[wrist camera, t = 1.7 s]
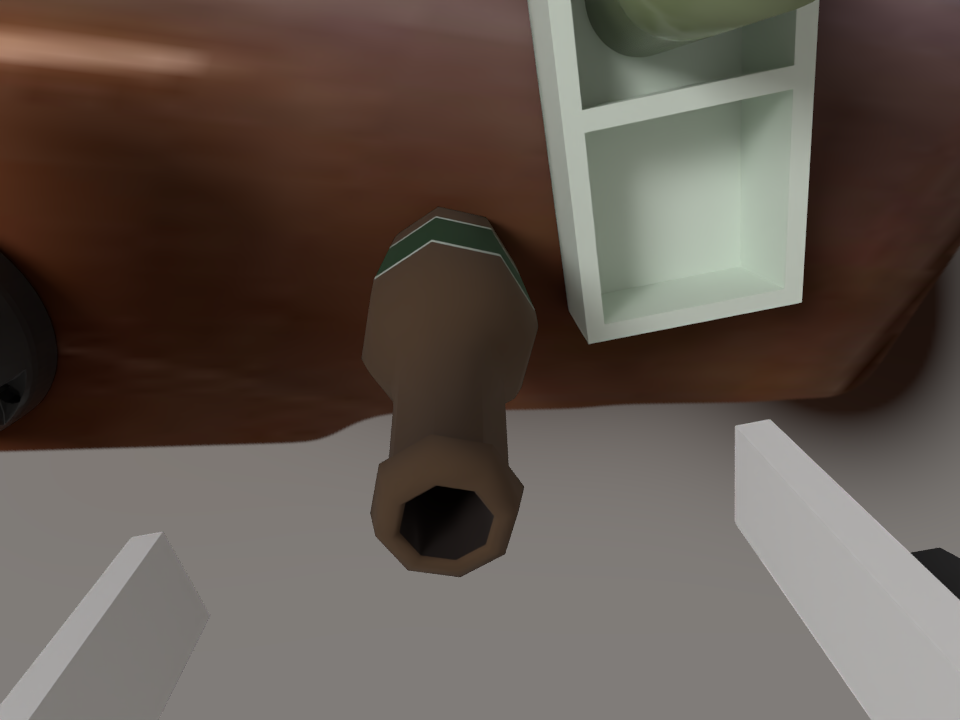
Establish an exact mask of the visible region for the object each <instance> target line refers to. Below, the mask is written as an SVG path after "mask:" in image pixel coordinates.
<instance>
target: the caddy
mask: <svg viewBox="0 0 960 720" xmlns="http://www.w3.org/2000/svg"><path fill="white" fill-rule="evenodd" d="M527 1H528V8H529V16H530V24H531V31H532V39H533V46H534V54H535V61H536V69H537V76H538V84H539V92H540V99H541V107H542V114H543V122H544V129H545V137H546V144H547V152H548V160H549V167H550V175H551V182H552V190H553V197H554V205H555V212H556V220H557V228H558V235H559V243H560V250H561V258H562V265H563V273H564V280H565V288H566V296H567V303H568V311H569V312H570V314H571V316H572V317H573V319H574V321H575V322H576V324H577V326H578V327H579V329H580V331H581V332H582V334H583V336H584V337H585V339H586V341H587V342H588V344H592V343H597V342H602V341H607V340H612V339H618V338H623V337H628V336H633V335H638V334H643V333H648V332H653V331H659V330H664V329H669V328H674V327H679V326H684V325H689V324H694V323H699V322H705V321H710V320H715V319H720V318H725V317H730V316H735V315H740V314H745V313H751V312H756V311H761V310H766V309H771V308H776V307H781V306H786V305H791V304H797V303H802V291H803V274H804V257H805V239H806V222H807V205H808V187H809V170H810V153H811V136H812V118H813V101H814V84H815V67H816V49H817V32H818V15H819V0H815V1H814V2H812V3H810V4H807V5H805V6H803V7H801V8H798V9H795V10H792V11H789V12H786V13H783V14H780V15H777V16H774V17H771V18H767V19H764V20H761V21H758V22H755V23H752V24H749V25H746V26H743V27H740V28H736V29H733V30H730V31H727V32H724V33H721V34H718V35H715V36H712V37H709V38H706V39H702V40H699V41H696V42H693V43H690V44H687V45H684V46H681V47H678V48H675V49H671V50H668V51H665V52H662V53H659V54H656V55H652V56H648V57H630V56H625V55H622V54H619V53H617V52H615V51H613V50H612V49H611V48H609V47H608V46H606V45H605V44H604V43H603V42H602V41H601V40H600V38H599V37H598V36H597V34H596V33H595V31H594V29H593V28H592V26H591V23H590V21H589V19H588V15H587V11H586V7H585V0H527Z"/></svg>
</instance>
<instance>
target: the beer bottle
mask: <svg viewBox="0 0 960 720" xmlns="http://www.w3.org/2000/svg"><path fill="white" fill-rule="evenodd" d="M537 330H538V322H537V317H536V312H535V309H534V307H533V305H532V302H531V300H530V298H529V295H528V293H527V291H526V288H525V286H524V284H523V281H522V279H521V277H520V274H519V272H518V270H517V267H516V265H515V263H514V261H513V260H512V258H511V257H510V255H509V253H508V252H507V250H506V248H505V247H504V245H503V244H502V242H501V240H500V239H499V237H498V236H497V234H496V232H495V231H494V229H493V227H492V226H491V224H490V223H489V221H488V220H487V218H486V217H483V216H478V215H474V214H469V213H465V212H460V211H456V210H451V209H447V208H442V207H437V208H436V209H434V210H433V211H431V212H430V213H428V214H427V215H425V216H424V217H422V218H421V219H419V220H418V221H416V222H415V223H413V224H412V225H410V226H409V227H407V228H406V229H404V230H403V231H401V232H400V233H399V234H398V235H397V236H396V237H395V238H394V240H393V242H392V244H391V246H390V248H389V250H388V252H387V254H386V256H385V258H384V260H383V262H382V264H381V266H380V269H379V271H378V273H377V275H376V277H375V279H374V282H373V287H372V292H371V297H370V304H369V311H368V318H367V324H366V331H365V338H364V345H363V351H362V358H361V359H362V360H363V362H364V364H365V366H366V368H367V369H368V371H369V373H370V374H371V375H372V377H373V378H374V379H375V380H376V381H377V383H378V384H379V385H380V386H381V388H382V389H383V390H384V391H385V393H386V394H387V395H388V396H389V397H390V399H391V400H392V401H393V417H392V429H391V441H390V454H389V459H387V460H385V461H384V462H382V463H380V464H379V467H378V473H377V479H376V484H375V490H374V495H373V501H372V507H371V512H370V514H371V518H372V523H373V526H374V531H375V536H376V537H377V538H378V539H379V540H380V541H381V542H382V543H383V544H384V546H385V547H386V548H387V549H388V550H389V551H390V552H391V553H392V554H393V555H394V556H395V557H396V558H397V559H398V560H399V561H400V562H401V563H402V565H403V566H404V567H405V568H406V569H407V570H409V571H417V572H425V573H432V574H440V575H448V576H455V577H461V576H463V575H465V574H467V573H469V572H471V571H473V570H475V569H477V568H479V567H481V566H483V565H485V564H487V563H489V562H491V561H493V560H494V559H496V558H498V557H500V556H502V555H504V554H505V553H506V549H507V546H508V543H509V540H510V537H511V533H512V530H513V527H514V524H515V520H516V517H517V514H518V511H519V507H520V502H521V498H522V494H523V490H524V486H523V485H522V483H521V482H520V480H519V479H518V478H517V477H516V475H515V474H514V473H513V471H512V470H511V468H510V467H509V465H508V447H507V430H506V411H505V403H507V402H509V401H511V400H512V399H514V398H515V397H516V395H517V394H518V392H519V390H520V389H521V386H522V383H523V379H524V376H525V372H526V369H527V365H528V362H529V358H530V355H531V351H532V348H533V344H534V340H535V337H536V333H537Z"/></svg>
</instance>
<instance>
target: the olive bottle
mask: <svg viewBox="0 0 960 720" xmlns="http://www.w3.org/2000/svg"><path fill="white" fill-rule="evenodd" d="M814 1H815V0H585V7H586V11H587V15H588V19H589V21H590V23H591V26H592V28H593V29H594V31H595V33H596V34H597V36H598V37H599V38H600V40H601V41H602V42H603V43H604V44H605V45H606V46H608V47H609V48H611V49H612V50H613V51H615V52H617V53H619V54H622V55H625V56H630V57H648V56H652V55H656V54H659V53H662V52H665V51H668V50H671V49H675V48H678V47H681V46H684V45H687V44H690V43H693V42H696V41H699V40H702V39H706V38H709V37H712V36H715V35H718V34H721V33H724V32H727V31H730V30H733V29H736V28H740V27H743V26H746V25H749V24H752V23H755V22H758V21H761V20H764V19H767V18H771V17H774V16H777V15H780V14H783V13H786V12H789V11H792V10H795V9H798V8H801V7H803V6H805V5H807V4H810V3H812V2H814Z"/></svg>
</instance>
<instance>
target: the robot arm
mask: <svg viewBox="0 0 960 720" xmlns="http://www.w3.org/2000/svg"><path fill="white" fill-rule="evenodd" d="M56 367H57V345H56V339H55V334H54V330H53V327H52V324H51V321H50V318H49V316H48V314H47V311H46V309H45V307H44V305H43V303H42V301H41V300H40V298H39V296H38V295H37V293H36V292H35V290H34V289H33V287H32V286H31V285H30V283H29V282H28V281H27V279H26V278H25V277H24V276H23V275H22V273H21V272H20V271H19V270H18V269H17V268H16V267H15V266H14V265H13V264H12V263H11V262H10V261H9V260H8V259H7V258H6V257H5V256H4V255H3V254H2V253H1V252H0V431H1V430H3V429H5V428H6V427H8V426H9V425H11V424H12V423H14V422H15V421H17V420H18V419H20V418H21V417H23V416H24V415H26V414H27V413H28V412H30V411H31V410H32V409H34V408H35V407H36V406H37V405H38V404H39V403H40V402H41V401H42V399H43V398H44V397H45V395H46V394H47V392H48V391H49V389H50V387H51V384H52V382H53V379H54V376H55V372H56ZM735 524H736V525H737V527H738V528H739V529H740V531H741V532H742V534H743V535H744V537H745V538H746V540H747V541H748V542H749V544H750V545H751V547H752V548H753V550H754V551H755V552H756V554H757V555H758V557H759V558H760V560H761V561H762V563H763V564H764V566H765V567H766V568H767V570H768V571H769V573H770V574H771V576H772V577H773V579H774V580H775V581H776V583H777V584H778V586H779V587H780V589H781V590H782V592H783V593H784V594H785V596H786V597H787V599H788V600H789V602H790V603H791V605H792V606H793V607H794V609H795V610H796V612H797V613H798V615H799V616H800V618H801V619H802V621H803V622H804V623H805V625H806V626H807V628H808V629H809V631H810V632H811V633H812V635H813V636H814V638H815V639H816V641H817V642H818V644H819V645H820V647H821V648H822V649H823V651H824V652H825V654H826V655H827V657H828V658H829V660H830V661H831V662H832V664H833V665H834V667H835V668H836V670H837V671H838V673H839V674H840V675H841V677H842V678H843V680H844V681H845V683H846V684H847V686H848V687H849V689H850V690H851V691H852V693H853V694H854V696H855V697H856V699H857V700H858V702H859V703H860V704H861V706H862V707H863V709H864V710H865V712H866V713H867V714H868V716H869V717H870V719H871V720H960V558H958V557H956V556H955V555H953V554H951V553H949V552H947V551H945V550H943V549H941V548H935V549H929V550H923V551H918V552H912V553H910V552H909V551H908V550H907V549H906V548H904V547H903V546H902V545H901V544H900V543H899V542H898V541H897V540H896V539H895V538H894V537H893V536H892V535H891V534H890V533H889V532H888V531H887V530H886V529H885V528H884V527H882V526H881V525H880V524H879V523H878V522H877V521H876V520H875V519H874V518H873V517H872V516H871V515H870V514H869V513H868V512H867V511H866V510H865V509H864V508H863V507H861V506H860V505H859V504H858V503H857V502H856V501H855V500H854V499H853V498H852V497H851V496H850V495H849V494H848V493H847V492H846V491H845V490H844V489H843V488H841V486H839V485H838V484H837V483H836V482H835V481H834V480H833V479H832V478H831V477H830V476H829V475H828V474H827V473H826V472H825V471H824V470H823V469H822V468H821V467H820V466H818V465H817V464H816V463H815V462H814V461H813V460H812V459H811V458H810V457H809V456H808V455H807V454H806V453H805V452H804V451H803V450H802V449H801V448H800V447H799V446H797V445H796V444H795V443H794V442H793V441H792V440H791V439H790V438H789V437H788V436H787V435H786V434H785V433H784V432H783V431H782V430H781V429H780V428H779V427H777V425H776V424H774V423H773V422H772V421H771V420H770V419H769V420H763V421H758V422H752V423H747V424H742V425H737V426H735ZM209 617H210V614H209V612H208V610H207V608H206V607H205V605H204V603H203V601H202V600H201V598H200V596H199V594H198V592H197V591H196V589H195V587H194V585H193V584H192V582H191V580H190V578H189V576H188V575H187V573H186V571H185V569H184V568H183V566H182V564H181V562H180V560H179V559H178V557H177V555H176V553H175V552H174V550H173V548H172V546H171V545H170V543H169V541H168V539H167V537H166V536H165V534H164V532H163V531H162V532H157V533H151V534H146V535H141V536H135V537H131V538H130V540H129V541H128V542H127V544H126V545H125V546H124V547H123V549H122V550H121V551H120V552H119V554H118V555H117V556H116V557H115V559H114V560H113V561H112V563H111V564H110V565H109V567H108V568H107V569H106V570H105V572H104V573H103V574H102V575H101V577H100V578H99V579H98V581H97V582H96V583H95V584H94V586H93V587H92V588H91V590H90V591H89V592H88V594H87V595H86V596H85V597H84V598H83V600H82V601H81V602H80V604H79V605H78V606H77V607H76V609H75V610H74V611H73V613H72V614H71V615H70V616H69V618H68V619H67V620H66V621H65V623H64V624H63V625H62V627H61V628H60V629H59V630H58V632H57V633H56V634H55V636H54V637H53V638H52V639H51V641H50V642H49V643H48V645H47V646H46V647H45V648H44V650H43V651H42V652H41V653H40V655H39V656H38V657H37V659H36V660H35V661H34V663H33V664H32V665H31V666H30V668H29V669H28V670H27V671H26V673H25V674H24V675H23V677H22V678H21V679H20V680H19V682H18V683H17V684H16V686H15V687H14V688H13V689H12V691H11V692H10V693H9V694H8V696H7V697H6V698H5V700H4V701H3V702H2V703H1V705H0V720H159V718H160V716H161V714H162V712H163V710H164V708H165V706H166V704H167V701H168V700H169V697H170V696H171V694H172V691H173V690H174V688H175V685H176V684H177V682H178V680H179V678H180V676H181V674H182V672H183V669H184V668H185V666H186V664H187V661H188V659H189V657H190V655H191V653H192V651H193V649H194V647H195V645H196V643H197V641H198V639H199V637H200V635H201V633H202V631H203V629H204V627H205V625H206V623H207V621H208V619H209Z"/></svg>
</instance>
